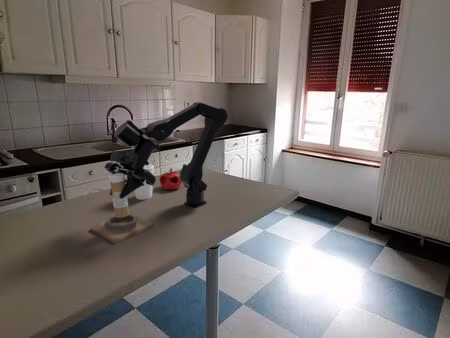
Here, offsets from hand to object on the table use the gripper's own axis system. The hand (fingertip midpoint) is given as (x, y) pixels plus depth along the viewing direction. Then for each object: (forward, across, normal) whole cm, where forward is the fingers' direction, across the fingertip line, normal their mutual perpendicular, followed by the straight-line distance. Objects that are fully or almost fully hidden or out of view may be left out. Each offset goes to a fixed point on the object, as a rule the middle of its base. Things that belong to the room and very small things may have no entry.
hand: (115, 196), depth 89 cm
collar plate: (+7, 0, +9) cm, 11 cm away
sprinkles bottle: (+4, 0, +6) cm, 7 cm away
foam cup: (-9, -16, +26) cm, 32 cm away
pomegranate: (-19, -15, +36) cm, 44 cm away
